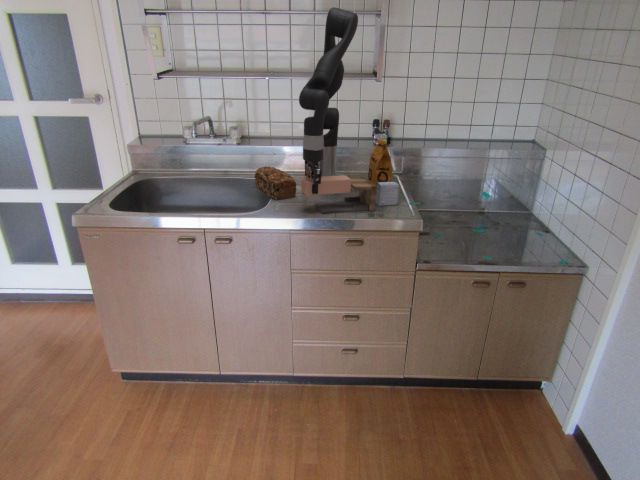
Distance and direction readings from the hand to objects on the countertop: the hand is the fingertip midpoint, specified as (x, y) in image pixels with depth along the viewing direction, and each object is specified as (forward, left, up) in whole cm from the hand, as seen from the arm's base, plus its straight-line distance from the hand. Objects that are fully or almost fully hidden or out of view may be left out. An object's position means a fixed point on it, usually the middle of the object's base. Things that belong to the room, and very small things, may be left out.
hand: (312, 190), depth 167 cm
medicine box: (0, +32, -8) cm, 33 cm away
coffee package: (-16, +36, -8) cm, 40 cm away
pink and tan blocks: (0, +13, -8) cm, 15 cm away
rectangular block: (0, +6, -1) cm, 6 cm away
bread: (-24, -9, -8) cm, 27 cm away
